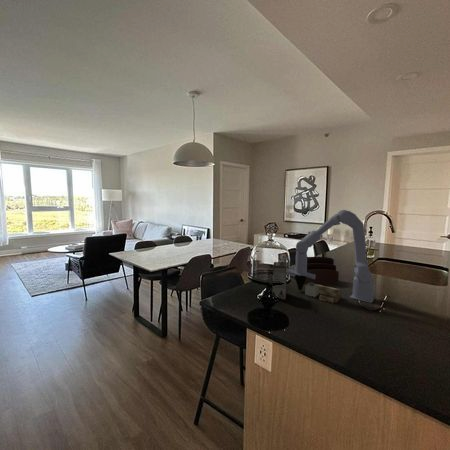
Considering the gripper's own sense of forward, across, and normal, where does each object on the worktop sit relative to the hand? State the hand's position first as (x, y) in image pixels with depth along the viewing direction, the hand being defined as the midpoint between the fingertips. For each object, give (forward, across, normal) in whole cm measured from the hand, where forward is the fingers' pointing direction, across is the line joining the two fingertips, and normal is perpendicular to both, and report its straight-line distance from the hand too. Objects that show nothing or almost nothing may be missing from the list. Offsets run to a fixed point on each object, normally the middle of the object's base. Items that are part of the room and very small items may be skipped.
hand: (300, 289), depth 132 cm
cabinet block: (+1, +6, 0) cm, 6 cm away
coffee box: (+1, -6, -12) cm, 14 cm away
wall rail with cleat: (+1, +12, 0) cm, 12 cm away
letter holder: (+1, +1, +22) cm, 22 cm away
